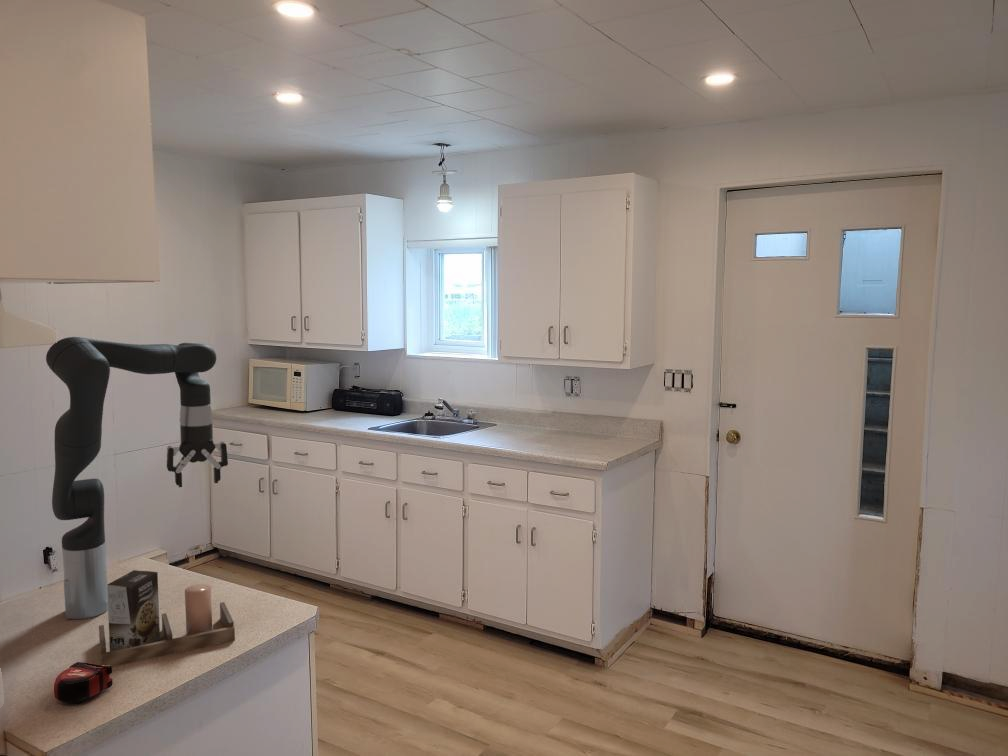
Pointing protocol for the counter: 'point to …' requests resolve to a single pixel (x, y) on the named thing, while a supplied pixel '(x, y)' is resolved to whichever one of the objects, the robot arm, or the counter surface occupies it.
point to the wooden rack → (168, 642)
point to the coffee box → (133, 610)
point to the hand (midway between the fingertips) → (198, 484)
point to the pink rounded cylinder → (198, 609)
